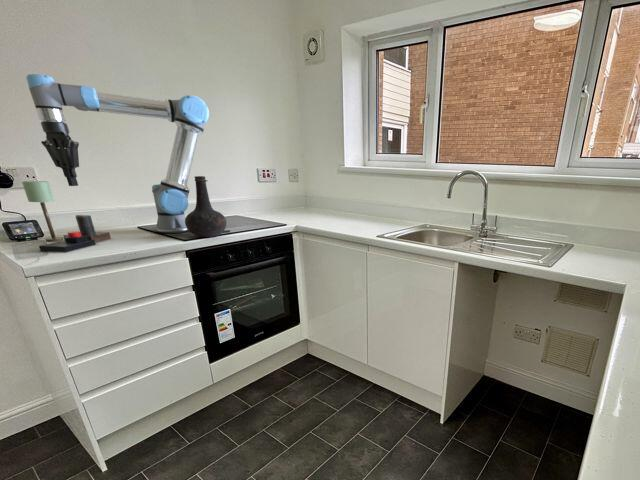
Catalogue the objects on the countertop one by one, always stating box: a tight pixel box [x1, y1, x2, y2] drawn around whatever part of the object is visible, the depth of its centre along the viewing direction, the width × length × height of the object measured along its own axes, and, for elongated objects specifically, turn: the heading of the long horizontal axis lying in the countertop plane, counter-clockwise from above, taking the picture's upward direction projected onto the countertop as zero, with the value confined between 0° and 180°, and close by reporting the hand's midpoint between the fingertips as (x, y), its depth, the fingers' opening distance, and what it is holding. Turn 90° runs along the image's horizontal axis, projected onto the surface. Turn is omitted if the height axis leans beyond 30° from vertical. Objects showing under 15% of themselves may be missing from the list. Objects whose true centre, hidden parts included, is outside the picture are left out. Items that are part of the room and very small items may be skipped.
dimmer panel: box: [63, 231, 112, 244], centre depth 155 cm, size 13×11×3 cm
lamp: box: [21, 180, 64, 243], centre depth 133 cm, size 7×7×22 cm
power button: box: [67, 230, 81, 237], centre depth 145 cm, size 4×4×2 cm
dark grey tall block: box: [75, 214, 96, 236], centre depth 152 cm, size 5×5×8 cm
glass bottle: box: [185, 175, 227, 238], centre depth 168 cm, size 18×18×28 cm
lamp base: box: [38, 235, 97, 253], centre depth 142 cm, size 10×14×4 cm
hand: (73, 185), depth 144 cm, fingers closed
